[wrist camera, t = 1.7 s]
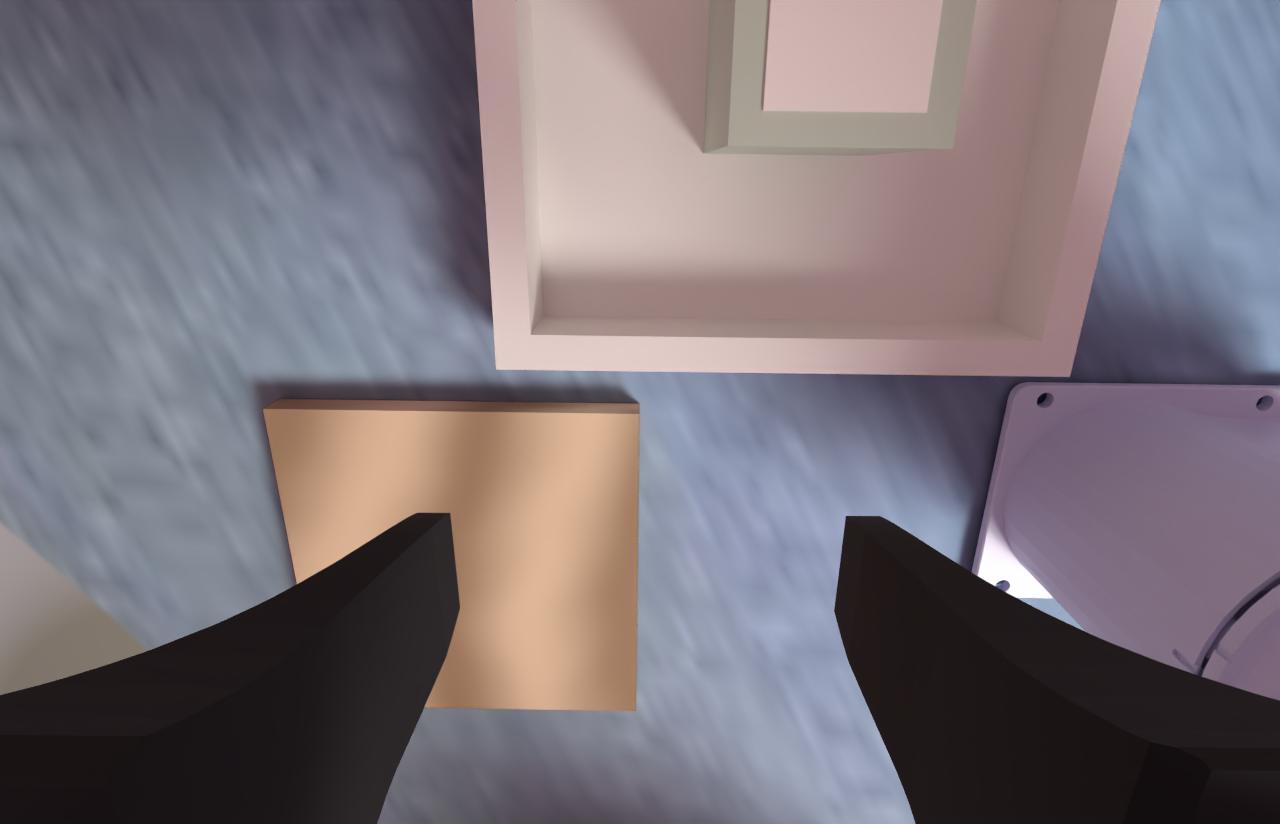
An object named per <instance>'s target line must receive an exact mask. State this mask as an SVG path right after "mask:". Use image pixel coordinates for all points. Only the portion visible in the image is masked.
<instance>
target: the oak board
mask: <svg viewBox="0 0 1280 824" xmlns="http://www.w3.org/2000/svg"><path fill="white" fill-rule="evenodd" d="M639 407H640V404H626V403H551V402H475V401H400V400H325V399H278V400H277V401H275V402H273V403H272V404H270V405H269V406H267V407H265V408H264V409H263V412H264V417H265V422H266V427H267V432H268V437H269V443H270V448H271V453H272V458H273V463H274V468H275V474H276V479H277V484H278V489H279V494H280V499H281V505H282V510H283V515H284V520H285V525H286V530H287V536H288V541H289V546H290V551H291V556H292V561H293V567H294V572H295V577H296V582H297V584H298V583H300V582H302V581H304V580H305V579H307V578H309V577H311V576H312V575H314V574H316V573H317V572H319V571H321V570H323V569H324V568H326V567H328V566H330V565H331V564H333V563H335V562H337V561H338V560H340V559H341V558H343V557H345V556H346V555H348V554H349V553H351V552H353V551H354V550H356V549H357V548H359V547H361V546H362V545H364V544H365V543H367V542H369V541H370V540H372V539H373V538H375V537H376V536H378V535H380V534H381V533H383V532H384V531H386V530H387V529H389V528H391V527H392V526H394V525H396V524H397V523H399V522H401V521H402V520H404V519H406V518H407V517H409V516H411V515H413V514H415V513H450V515H451V524H452V534H453V543H454V553H455V562H456V572H457V582H458V591H459V601H460V610H459V614H458V618H457V622H456V625H455V629H454V633H453V636H452V639H451V643H450V646H449V649H448V653H447V656H446V658H445V661H444V663H443V666H442V668H441V670H440V673H439V675H438V677H437V679H436V682H435V684H434V686H433V689H432V691H431V693H430V695H429V698H428V700H427V702H426V704H425V707H424V708H477V709H542V710H607V711H636V671H637V583H638V495H639Z"/></svg>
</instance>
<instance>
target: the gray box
mask: <svg viewBox="0 0 1280 824" xmlns="http://www.w3.org/2000/svg"><path fill="white" fill-rule="evenodd" d="M976 1H977V0H710V9H709V34H708V58H707V83H706V108H705V132H704V154H773V155H859V156H862V155H875V154H889V153H902V152H915V151H928V150H942V149H953V145H954V139H955V133H956V127H957V120H958V114H959V108H960V102H961V95H962V89H963V83H964V76H965V70H966V64H967V58H968V51H969V45H970V39H971V32H972V26H973V20H974V14H975V7H976Z"/></svg>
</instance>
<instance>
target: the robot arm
mask: <svg viewBox="0 0 1280 824" xmlns="http://www.w3.org/2000/svg"><path fill="white" fill-rule="evenodd" d="M1043 393H1047V397H1046V399H1045V401H1043V402H1042V403H1040V404H1037V399H1038V397H1039V396H1040V395H1041V394H1043ZM1262 397H1263V399H1262V401H1261V403H1260V404H1258V405H1257V406H1256V403H1257V402H1258V400H1259V399H1260V398H1262ZM1001 580H1004V582H1003V583H1002V584H1001V585H999V586H995V585H996V583H997V582H999V581H1001ZM1017 598H1054V599H1055V600H1056V601H1057V602H1058V603H1059V604H1060V605H1061V606H1062V607H1063V608H1064V609H1065V610H1066V611H1067V612H1068V613H1069V615H1070V616H1071V617H1072V618H1073V619H1074V620H1075V621H1076V622H1077V623H1078V624H1079V625H1080V626H1081V627H1082V628H1083V629H1084V630H1085V631H1086V632H1085V631H1082V630H1080V629H1078V628H1076V627H1074V626H1072V625H1070V624H1067V623H1065V622H1063V621H1061V620H1059V619H1057V618H1055V617H1053V616H1050V615H1048V614H1046V613H1044V612H1042V611H1040V610H1038V609H1036V608H1034V607H1032V606H1030V605H1028V604H1027V603H1025V602H1023V601H1021V600H1019V599H1017ZM459 610H460V601H459V591H458V582H457V572H456V562H455V553H454V543H453V534H452V524H451V515H450V513H415V514H413V515H411V516H409V517H407V518H406V519H404V520H402V521H401V522H399V523H397V524H396V525H394V526H392V527H391V528H389V529H387V530H386V531H384V532H383V533H381V534H380V535H378V536H376V537H375V538H373V539H372V540H370V541H369V542H367V543H365V544H364V545H362V546H361V547H359V548H357V549H356V550H354V551H353V552H351V553H349V554H348V555H346V556H345V557H343V558H341V559H340V560H338V561H337V562H335V563H333V564H331V565H330V566H328V567H326V568H324V569H323V570H321V571H319V572H317V573H316V574H314V575H312V576H311V577H309V578H307V579H305V580H304V581H302V582H300V583H298V584H297V585H295V586H293V587H291V588H290V589H288V590H286V591H284V592H282V593H280V594H278V595H276V596H275V597H273V598H271V599H269V600H267V601H265V602H263V603H261V604H259V605H257V606H255V607H252V608H250V609H248V610H246V611H244V612H242V613H240V614H237V615H235V616H233V617H231V618H229V619H227V620H224V621H222V622H220V623H218V624H215V625H213V626H210V627H208V628H205V629H203V630H200V631H198V632H195V633H193V634H190V635H188V636H185V637H183V638H180V639H177V640H175V641H172V642H170V643H167V644H165V645H162V646H160V647H157V648H155V649H152V650H149V651H147V652H144V653H141V654H138V655H135V656H132V657H129V658H126V659H123V660H120V661H117V662H114V663H112V664H109V665H105V666H102V667H99V668H96V669H93V670H90V671H86V672H83V673H80V674H77V675H73V676H70V677H67V678H63V679H60V680H56V681H53V682H49V683H46V684H42V685H39V686H35V687H31V688H27V689H23V690H19V691H15V692H11V693H8V694H3V695H0V824H377V822H378V819H379V816H380V813H381V810H382V807H383V804H384V801H385V798H386V795H387V792H388V790H389V787H390V785H391V782H392V780H393V777H394V775H395V772H396V769H397V767H398V765H399V763H400V760H401V758H402V756H403V754H404V751H405V749H406V747H407V745H408V742H409V740H410V738H411V736H412V733H413V731H414V729H415V727H416V724H417V722H418V720H419V718H420V716H421V713H422V711H423V709H424V707H425V704H426V702H427V700H428V698H429V695H430V693H431V691H432V689H433V686H434V684H435V682H436V679H437V677H438V675H439V673H440V670H441V668H442V666H443V663H444V661H445V658H446V656H447V653H448V649H449V646H450V643H451V639H452V636H453V633H454V629H455V625H456V622H457V618H458V614H459ZM834 612H835V615H836V619H837V623H838V627H839V630H840V634H841V638H842V641H843V645H844V648H845V651H846V655H847V658H848V661H849V664H850V666H851V668H852V671H853V673H854V675H855V678H856V680H857V682H858V685H859V687H860V689H861V692H862V694H863V696H864V699H865V701H866V703H867V705H868V708H869V710H870V712H871V714H872V717H873V719H874V721H875V723H876V726H877V728H878V730H879V732H880V735H881V737H882V739H883V741H884V744H885V746H886V748H887V751H888V753H889V755H890V757H891V760H892V762H893V764H894V766H895V769H896V771H897V773H898V776H899V778H900V781H901V783H902V786H903V788H904V791H905V794H906V796H907V799H908V801H909V804H910V807H911V811H912V814H913V817H914V820H915V823H916V824H1280V385H1209V384H1133V383H1057V382H1025V383H1020V384H1019V385H1017V386H1015V387H1014V388H1013V389H1012V390H1011V392H1010V394H1009V397H1008V401H1007V406H1006V411H1005V416H1004V420H1003V425H1002V430H1001V435H1000V439H999V444H998V449H997V454H996V458H995V463H994V468H993V473H992V477H991V482H990V487H989V492H988V496H987V501H986V506H985V510H984V515H983V520H982V525H981V529H980V534H979V539H978V544H977V548H976V553H975V558H974V563H973V567H972V572H970V571H968V570H967V569H965V568H964V567H962V566H960V565H959V564H957V563H956V562H954V561H952V560H951V559H949V558H948V557H946V556H944V555H943V554H941V553H940V552H938V551H936V550H935V549H933V548H932V547H930V546H929V545H927V544H926V543H924V542H922V541H921V540H919V539H918V538H916V537H915V536H913V535H911V534H910V533H908V532H907V531H905V530H903V529H902V528H900V527H899V526H897V525H895V524H894V523H892V522H890V521H888V520H886V519H884V518H882V517H880V516H846V521H845V529H844V537H843V545H842V553H841V561H840V569H839V578H838V586H837V594H836V602H835V610H834Z"/></svg>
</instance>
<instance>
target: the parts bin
mask: <svg viewBox="0 0 1280 824" xmlns="http://www.w3.org/2000/svg"><path fill="white" fill-rule="evenodd" d="M1160 1H1161V0H977V1H976V7H975V14H974V20H973V26H972V32H971V39H970V45H969V51H968V58H967V64H966V70H965V76H964V83H963V89H962V95H961V102H960V108H959V114H958V120H957V127H956V133H955V139H954V145H953V149H942V150H928V151H915V152H902V153H889V154H875V155H862V156H859V155H773V154H704V132H705V108H706V83H707V58H708V34H709V9H710V0H472V3H473V19H474V34H475V50H476V65H477V80H478V96H479V111H480V126H481V142H482V157H483V172H484V188H485V203H486V218H487V234H488V249H489V265H490V280H491V295H492V311H493V326H494V341H495V357H496V369H498V370H574V371H650V372H727V373H803V374H880V375H956V376H1033V377H1070V374H1071V370H1072V366H1073V362H1074V358H1075V354H1076V349H1077V345H1078V341H1079V337H1080V333H1081V329H1082V325H1083V320H1084V316H1085V312H1086V308H1087V304H1088V300H1089V296H1090V291H1091V287H1092V283H1093V279H1094V275H1095V271H1096V267H1097V262H1098V258H1099V254H1100V250H1101V246H1102V242H1103V238H1104V233H1105V229H1106V225H1107V221H1108V217H1109V213H1110V209H1111V204H1112V200H1113V196H1114V192H1115V188H1116V184H1117V180H1118V175H1119V171H1120V167H1121V163H1122V159H1123V155H1124V151H1125V146H1126V142H1127V138H1128V134H1129V130H1130V126H1131V122H1132V117H1133V113H1134V109H1135V105H1136V101H1137V97H1138V93H1139V88H1140V84H1141V80H1142V76H1143V72H1144V68H1145V64H1146V59H1147V55H1148V51H1149V47H1150V43H1151V39H1152V35H1153V30H1154V26H1155V22H1156V18H1157V14H1158V10H1159V6H1160Z"/></svg>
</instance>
